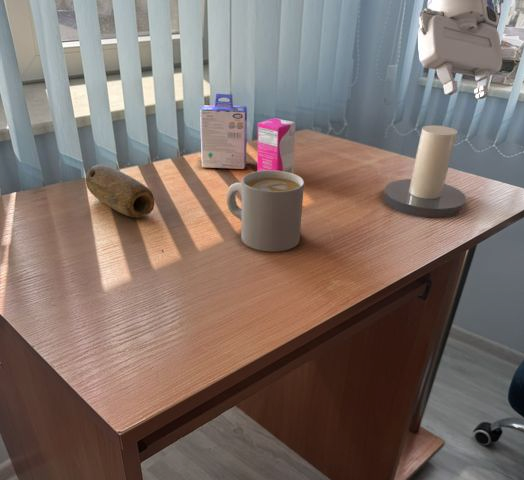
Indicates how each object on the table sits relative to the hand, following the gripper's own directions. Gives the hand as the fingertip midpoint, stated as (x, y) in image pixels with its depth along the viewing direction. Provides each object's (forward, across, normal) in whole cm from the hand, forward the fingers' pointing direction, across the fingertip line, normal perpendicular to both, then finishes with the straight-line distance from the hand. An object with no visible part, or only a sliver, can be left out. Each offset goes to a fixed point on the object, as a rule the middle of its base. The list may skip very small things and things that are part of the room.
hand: (467, 95), depth 94 cm
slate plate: (+16, 0, +12) cm, 20 cm away
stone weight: (+8, -53, +39) cm, 66 cm away
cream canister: (+14, -1, +12) cm, 18 cm away
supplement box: (+4, -19, +35) cm, 40 cm away
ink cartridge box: (-2, -24, +46) cm, 52 cm away
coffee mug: (+19, -37, +19) cm, 45 cm away
